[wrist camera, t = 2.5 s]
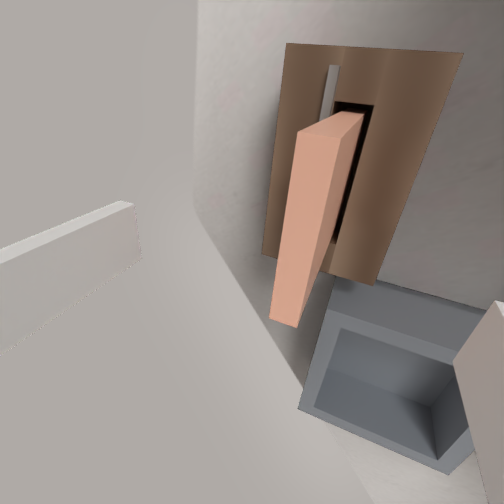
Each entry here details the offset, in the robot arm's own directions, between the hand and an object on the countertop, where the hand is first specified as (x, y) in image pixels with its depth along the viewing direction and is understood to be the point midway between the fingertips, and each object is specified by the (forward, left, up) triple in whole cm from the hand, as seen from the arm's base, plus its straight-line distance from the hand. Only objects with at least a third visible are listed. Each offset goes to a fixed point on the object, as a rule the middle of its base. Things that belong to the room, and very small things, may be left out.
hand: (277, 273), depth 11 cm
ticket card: (0, 0, -18) cm, 18 cm away
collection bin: (+19, +10, -19) cm, 29 cm away
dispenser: (0, 0, -19) cm, 19 cm away
